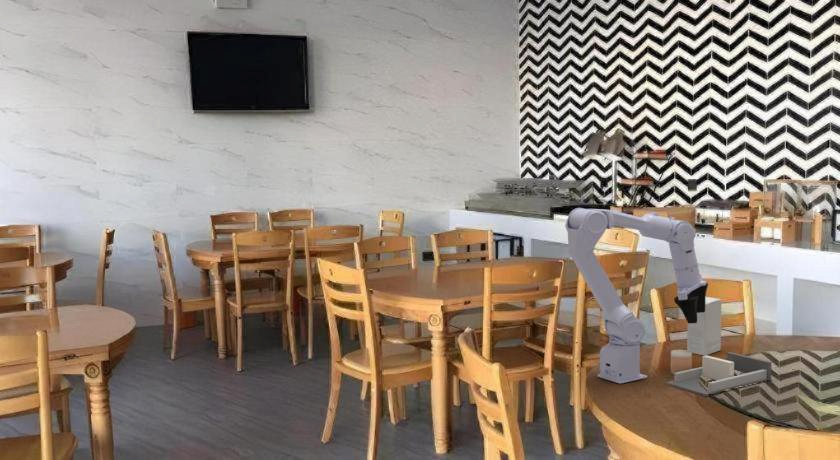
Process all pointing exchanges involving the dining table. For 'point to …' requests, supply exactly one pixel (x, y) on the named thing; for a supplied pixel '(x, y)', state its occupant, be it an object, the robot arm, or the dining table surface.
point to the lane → (750, 374)
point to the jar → (680, 360)
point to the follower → (717, 368)
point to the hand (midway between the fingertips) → (696, 317)
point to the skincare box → (706, 329)
